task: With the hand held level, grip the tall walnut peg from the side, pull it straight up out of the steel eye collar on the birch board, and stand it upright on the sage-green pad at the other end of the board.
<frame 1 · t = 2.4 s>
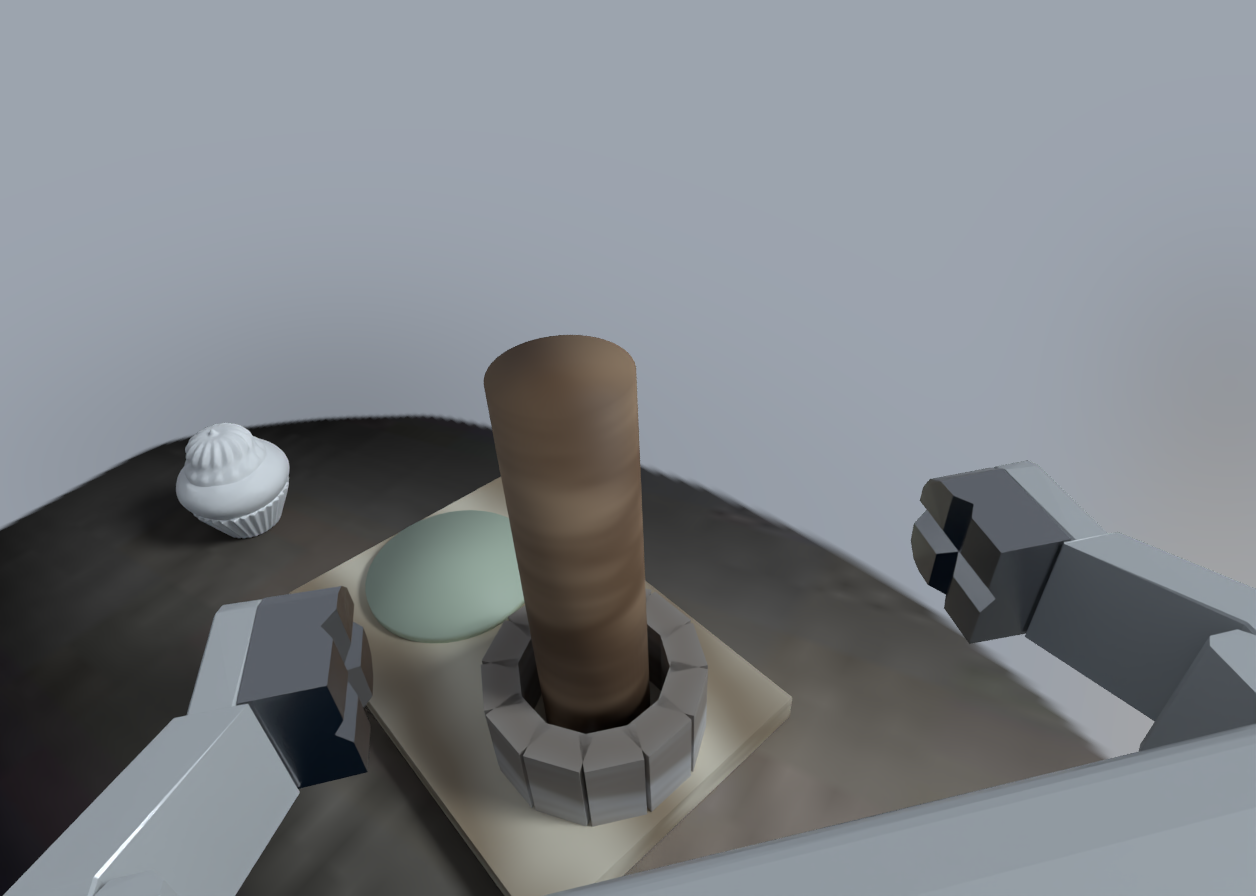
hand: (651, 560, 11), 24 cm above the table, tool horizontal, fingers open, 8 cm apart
walnut peg: (599, 721, 34), point 1 cm above the table, touching birch board
sage pad: (454, 574, 41), resting on birch board
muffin: (255, 522, 48), on the table
birch board: (523, 659, 39), on the table
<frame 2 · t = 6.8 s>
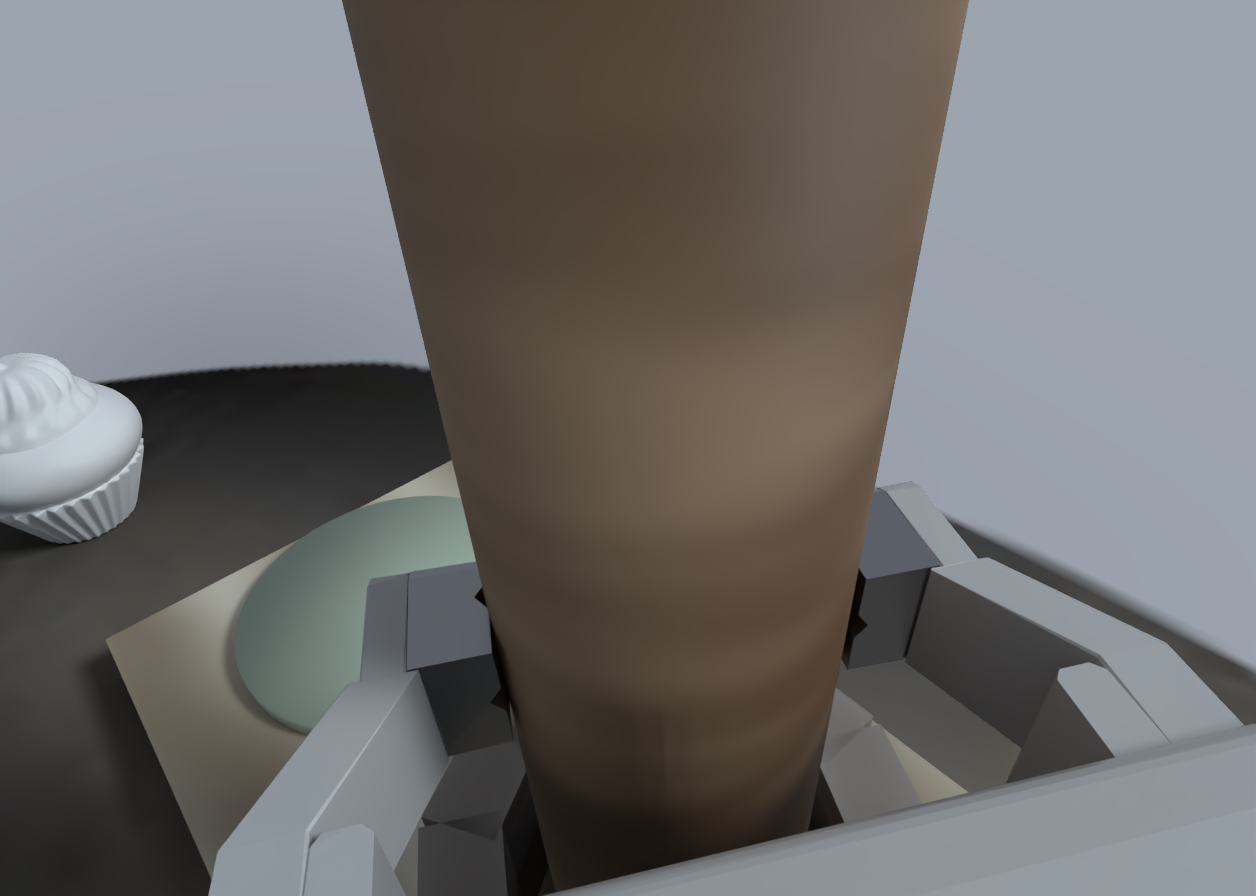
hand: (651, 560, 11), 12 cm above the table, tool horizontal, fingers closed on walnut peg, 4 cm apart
sage pad: (397, 606, 24), resting on birch board
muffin: (94, 518, 30), on the table
birch board: (518, 767, 21), on the table
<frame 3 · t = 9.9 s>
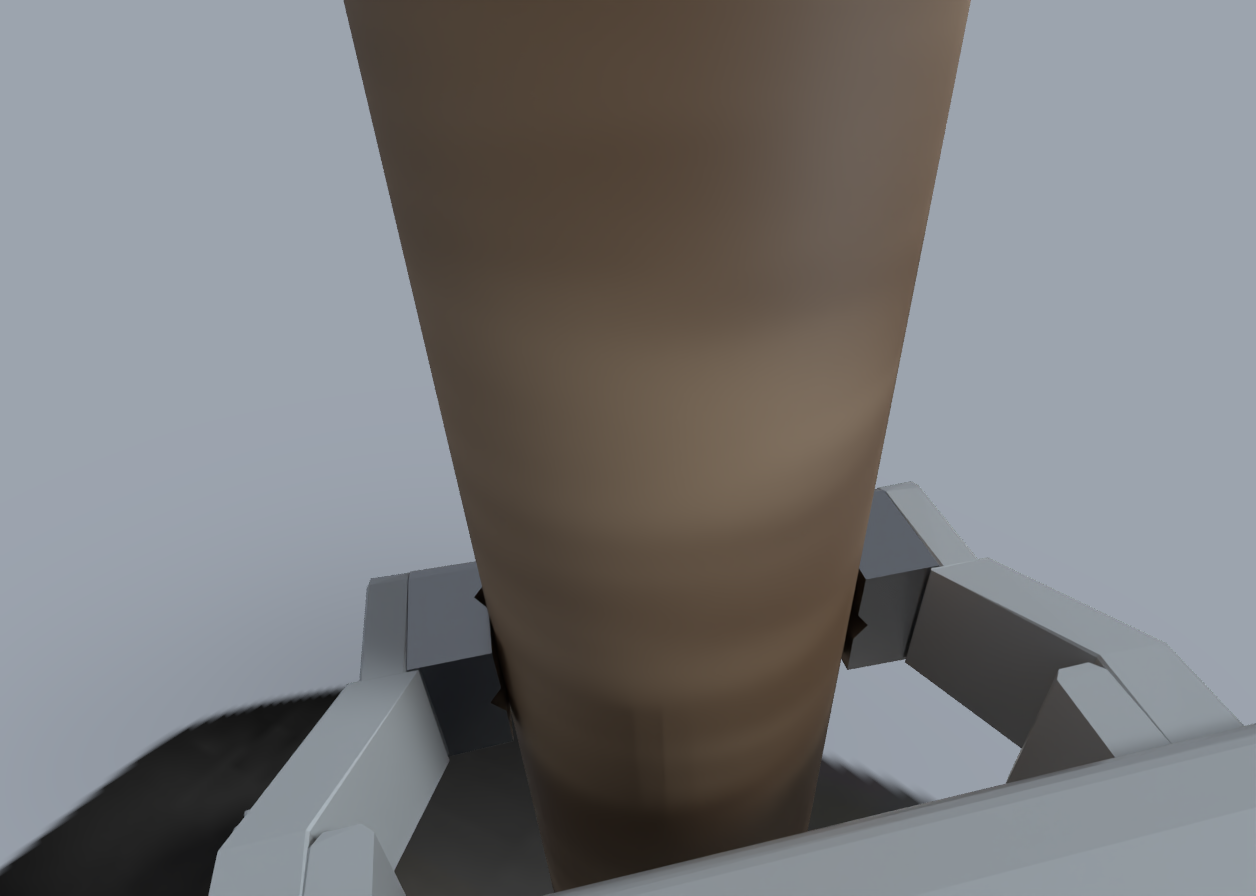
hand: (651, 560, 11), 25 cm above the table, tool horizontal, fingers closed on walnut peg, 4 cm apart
when the fingers open (13 cm above the table, at t = 13.0 s): walnut peg drops 1 cm, resting on sage pad.
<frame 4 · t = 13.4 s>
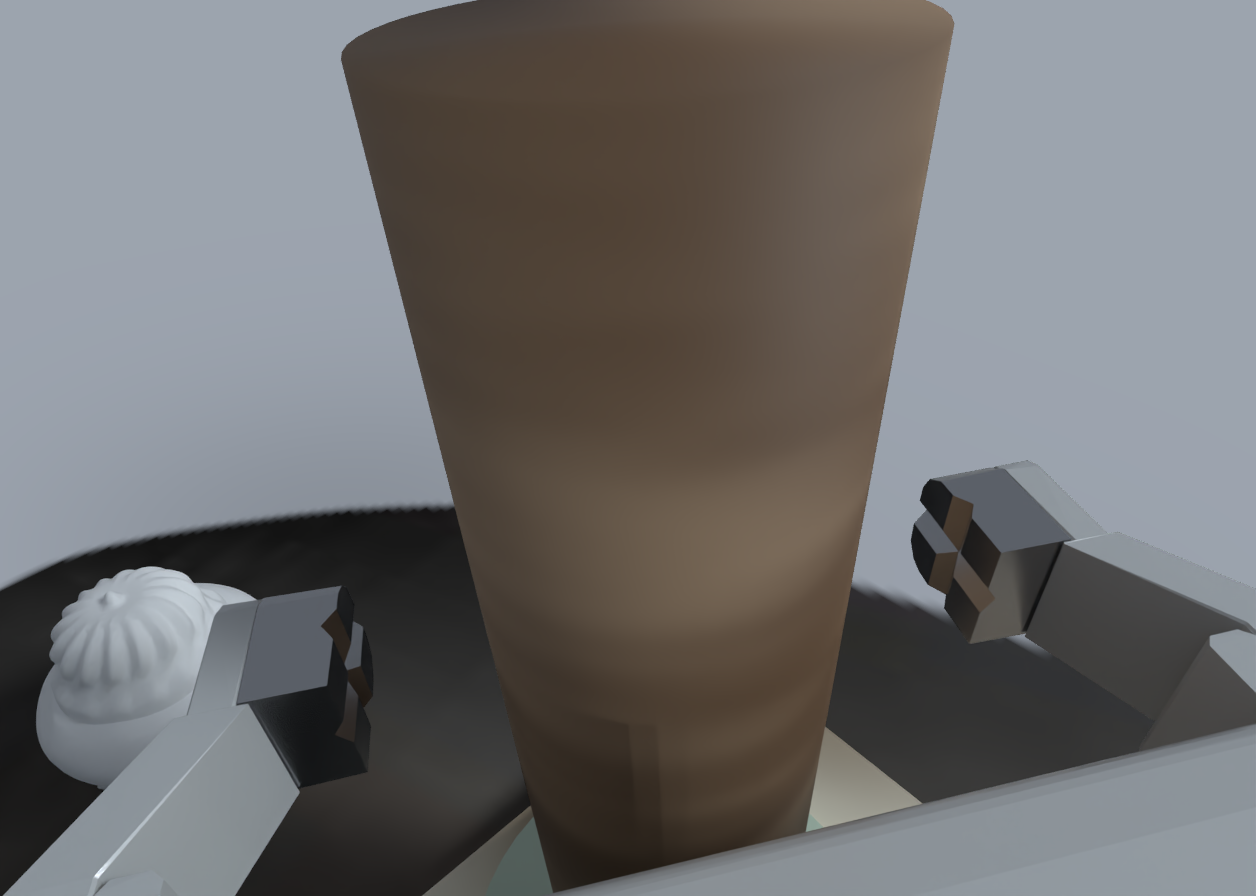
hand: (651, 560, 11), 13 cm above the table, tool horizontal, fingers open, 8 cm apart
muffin: (215, 749, 24), on the table
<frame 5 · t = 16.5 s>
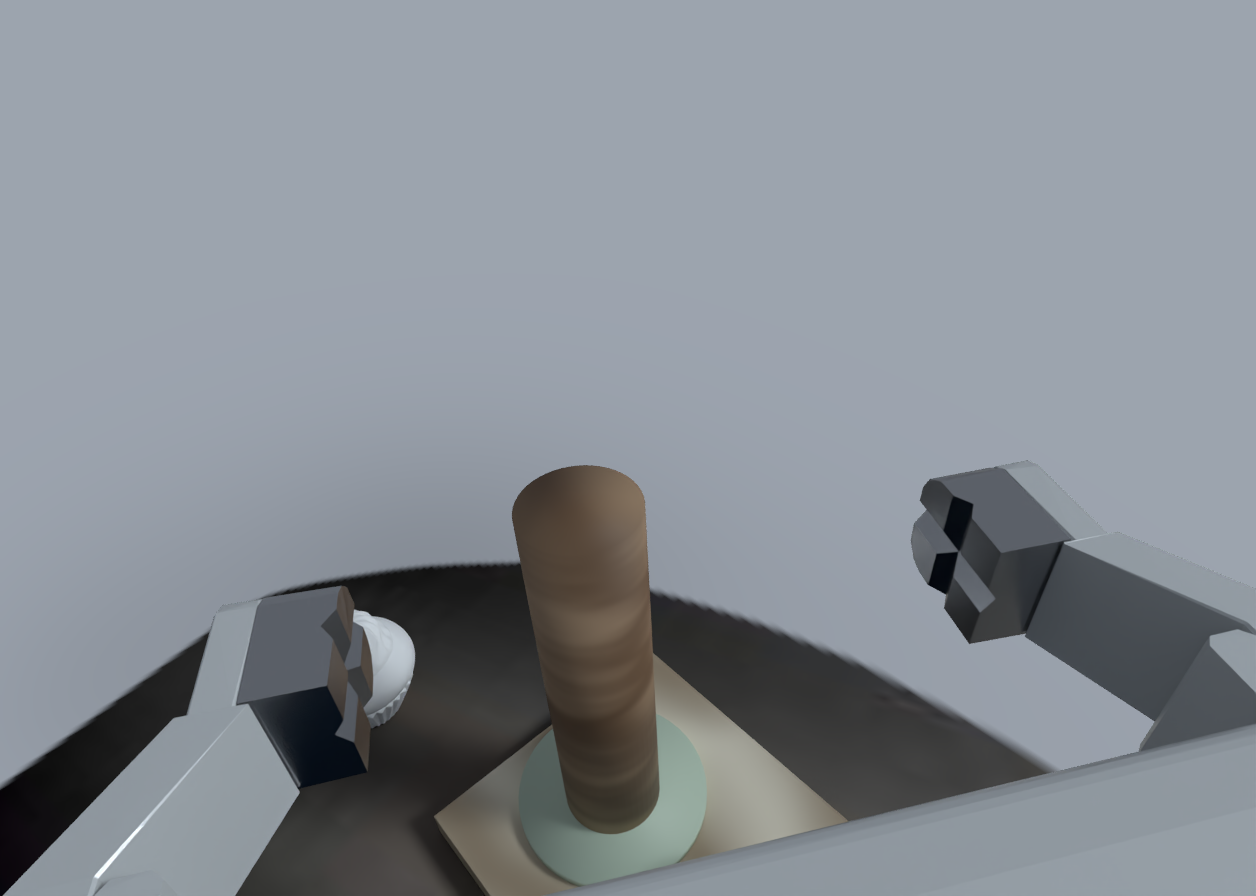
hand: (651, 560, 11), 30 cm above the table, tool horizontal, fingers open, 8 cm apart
walnut peg: (612, 787, 37), point 2 cm above the table, touching sage pad
sage pad: (613, 792, 38), resting on birch board
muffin: (374, 706, 44), on the table
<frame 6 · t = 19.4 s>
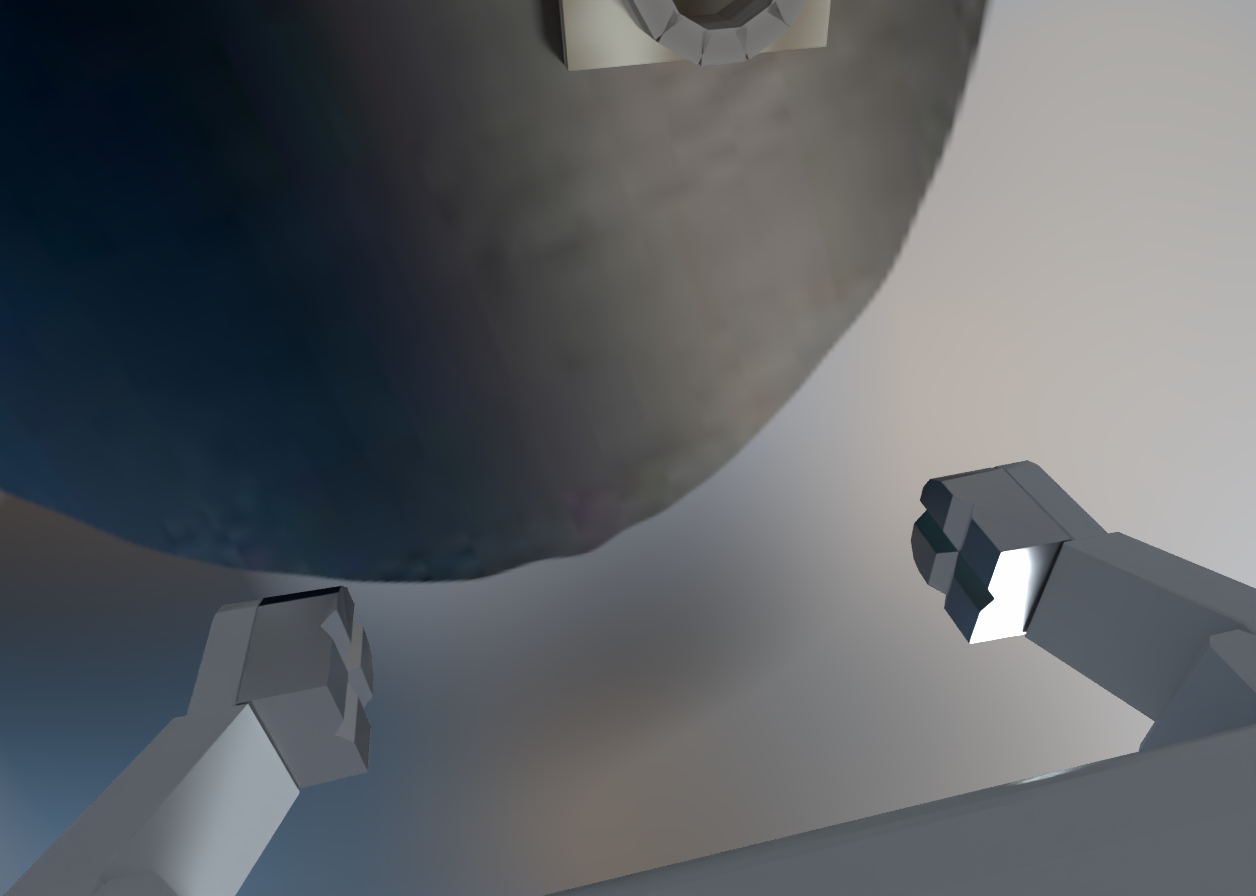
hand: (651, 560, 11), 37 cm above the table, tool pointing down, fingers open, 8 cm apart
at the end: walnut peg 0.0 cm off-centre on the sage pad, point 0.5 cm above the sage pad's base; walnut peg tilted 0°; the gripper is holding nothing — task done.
